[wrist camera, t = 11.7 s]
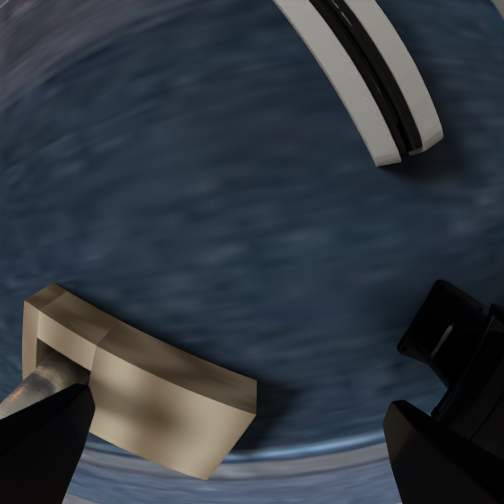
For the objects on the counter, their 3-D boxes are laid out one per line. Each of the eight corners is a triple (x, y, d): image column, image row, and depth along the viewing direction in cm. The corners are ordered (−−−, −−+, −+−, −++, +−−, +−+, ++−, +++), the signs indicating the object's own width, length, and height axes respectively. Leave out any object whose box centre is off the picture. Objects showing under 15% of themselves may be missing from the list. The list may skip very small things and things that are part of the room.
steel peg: (103, 346, 22) (19, 449, 10) (97, 375, 23) (26, 473, 11) (69, 327, 22) (-24, 413, 10) (65, 356, 23) (-14, 442, 11)
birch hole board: (256, 380, 22) (256, 414, 19) (211, 449, 25) (206, 480, 21) (53, 282, 21) (24, 300, 17) (44, 367, 23) (23, 389, 19)
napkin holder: (432, 142, 18) (487, 155, 9) (376, 167, 20) (392, 197, 11) (312, -39, 15) (280, -113, 6) (261, -13, 17) (202, -75, 8)
